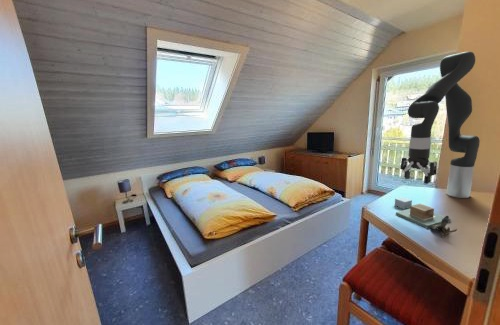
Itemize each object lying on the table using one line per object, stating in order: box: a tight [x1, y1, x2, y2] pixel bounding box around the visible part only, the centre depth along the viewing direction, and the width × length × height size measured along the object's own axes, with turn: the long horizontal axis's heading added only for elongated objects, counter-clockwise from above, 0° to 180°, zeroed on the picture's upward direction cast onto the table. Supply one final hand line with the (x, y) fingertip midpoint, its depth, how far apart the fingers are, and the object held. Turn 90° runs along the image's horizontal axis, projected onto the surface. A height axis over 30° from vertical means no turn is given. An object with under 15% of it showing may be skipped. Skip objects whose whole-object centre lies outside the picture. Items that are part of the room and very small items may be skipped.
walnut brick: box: [409, 203, 435, 220], centre depth 97 cm, size 6×6×4 cm
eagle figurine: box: [430, 215, 458, 238], centre depth 85 cm, size 8×7×9 cm
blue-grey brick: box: [394, 196, 413, 210], centre depth 110 cm, size 5×5×4 cm
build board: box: [395, 208, 451, 229], centre depth 98 cm, size 14×14×1 cm
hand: (416, 181), depth 101 cm, fingers open, 8 cm apart
